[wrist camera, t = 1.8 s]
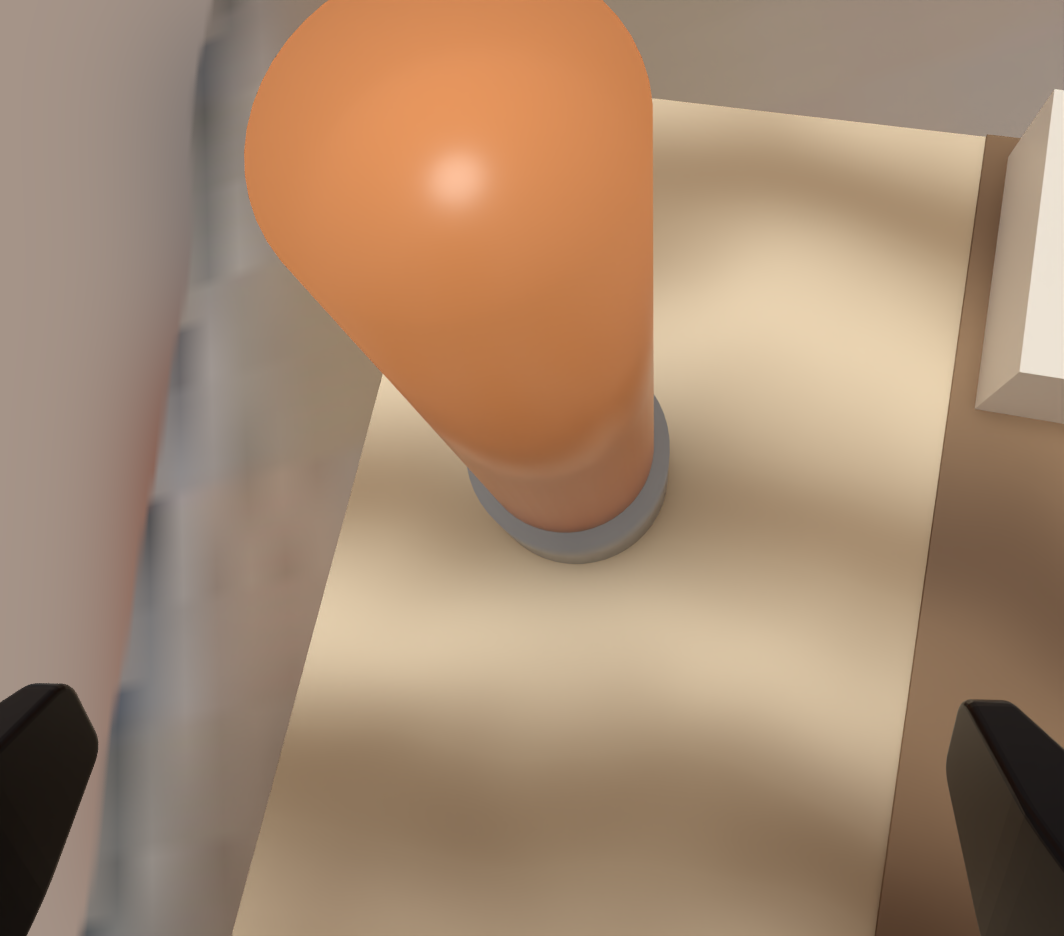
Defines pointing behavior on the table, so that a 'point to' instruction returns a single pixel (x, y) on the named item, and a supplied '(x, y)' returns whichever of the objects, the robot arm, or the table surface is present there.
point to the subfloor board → (701, 593)
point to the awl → (484, 241)
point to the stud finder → (1029, 279)
